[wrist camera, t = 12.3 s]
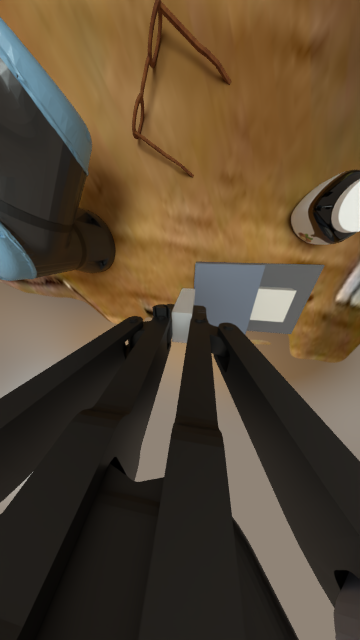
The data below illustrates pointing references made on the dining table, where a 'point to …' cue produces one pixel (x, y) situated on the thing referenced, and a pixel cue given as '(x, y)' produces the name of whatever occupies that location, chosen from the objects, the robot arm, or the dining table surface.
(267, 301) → the coaster
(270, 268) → the mat
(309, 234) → the spread jar
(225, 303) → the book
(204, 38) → the dining table surface
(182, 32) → the glasses
